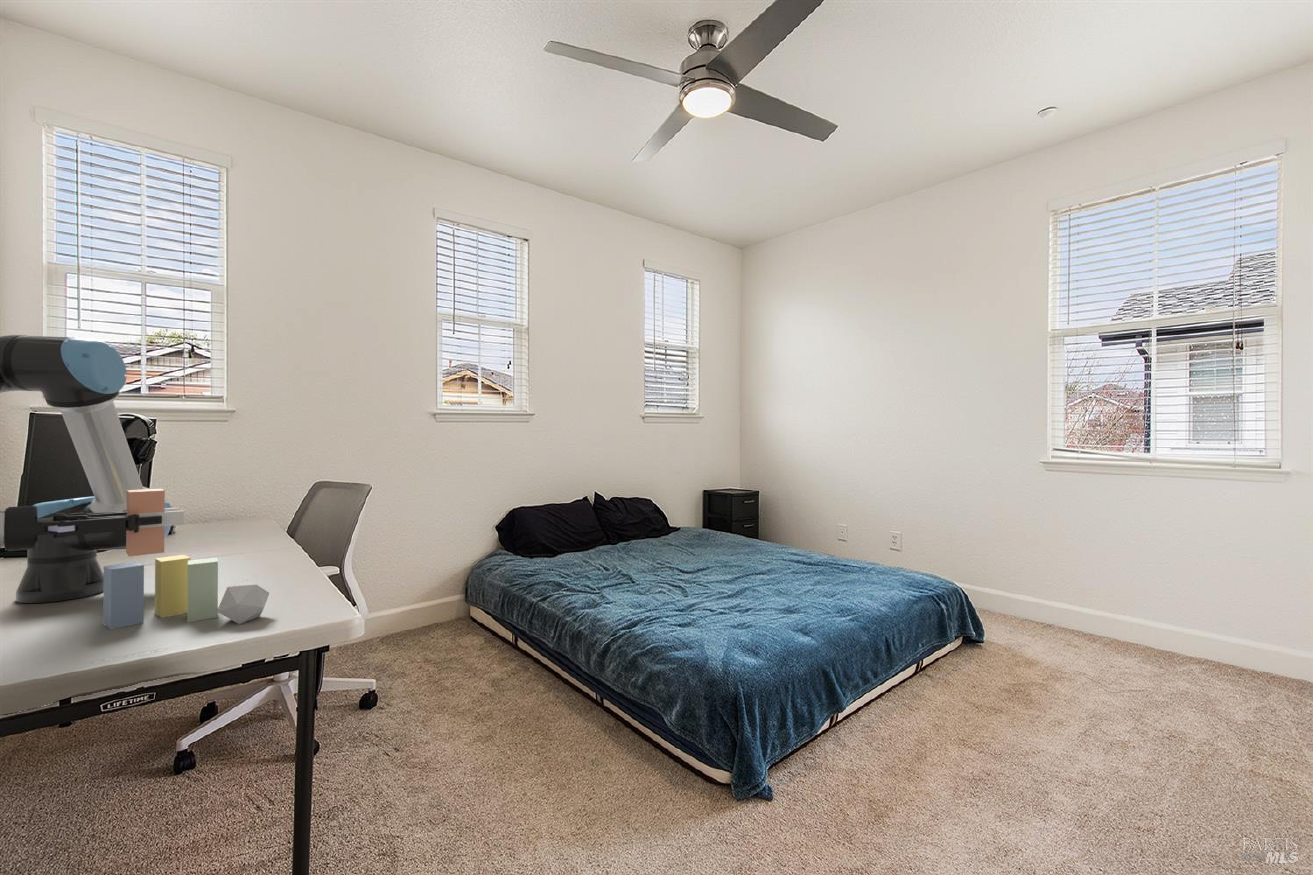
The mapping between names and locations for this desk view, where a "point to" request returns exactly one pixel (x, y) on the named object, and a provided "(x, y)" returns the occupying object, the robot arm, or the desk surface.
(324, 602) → the desk surface
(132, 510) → the terracotta pillar
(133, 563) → the slate pillar
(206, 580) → the sage pillar
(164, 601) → the mustard pillar
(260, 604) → the die
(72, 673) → the desk surface
